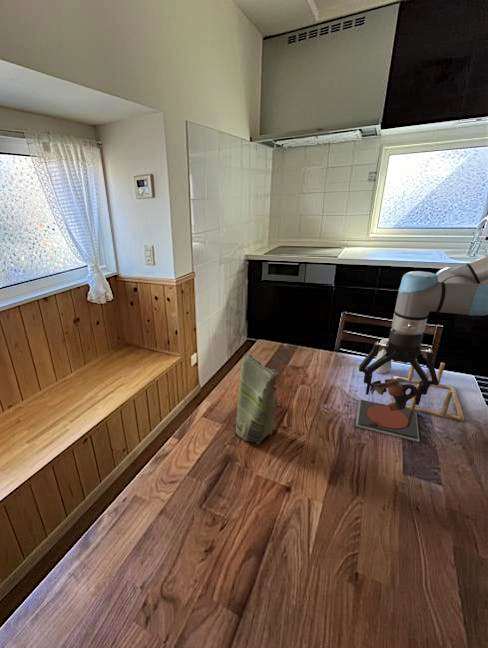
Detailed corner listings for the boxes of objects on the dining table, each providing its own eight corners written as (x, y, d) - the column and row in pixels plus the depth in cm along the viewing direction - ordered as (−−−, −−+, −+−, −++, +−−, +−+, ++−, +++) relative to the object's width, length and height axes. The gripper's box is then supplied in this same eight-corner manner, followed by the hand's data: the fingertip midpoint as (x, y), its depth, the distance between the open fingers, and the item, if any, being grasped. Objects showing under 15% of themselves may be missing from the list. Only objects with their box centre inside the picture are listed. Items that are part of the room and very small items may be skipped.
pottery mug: (380, 414, 95) (372, 386, 96) (370, 408, 104) (363, 382, 105) (427, 406, 92) (418, 376, 93) (412, 401, 101) (404, 374, 102)
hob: (416, 413, 104) (417, 410, 103) (419, 442, 93) (420, 438, 92) (358, 401, 111) (359, 397, 111) (355, 426, 100) (356, 423, 100)
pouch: (239, 418, 107) (239, 348, 97) (277, 424, 103) (282, 352, 93) (231, 441, 98) (231, 367, 87) (273, 449, 94) (278, 372, 83)
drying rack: (453, 388, 115) (461, 365, 111) (463, 421, 100) (472, 396, 96) (393, 377, 123) (398, 355, 119) (393, 406, 108) (399, 382, 104)
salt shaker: (393, 371, 126) (400, 340, 121) (383, 376, 124) (390, 345, 119) (378, 365, 131) (384, 335, 126) (369, 370, 129) (375, 339, 123)
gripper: (356, 328, 92) (345, 394, 101) (466, 343, 81) (443, 415, 90) (358, 319, 98) (347, 382, 107) (461, 331, 87) (439, 400, 96)
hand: (391, 397), depth 99 cm, fingers closed on pottery mug, 12 cm apart
